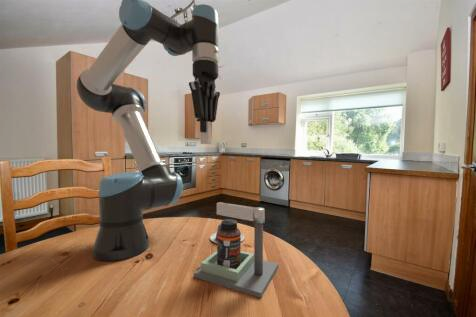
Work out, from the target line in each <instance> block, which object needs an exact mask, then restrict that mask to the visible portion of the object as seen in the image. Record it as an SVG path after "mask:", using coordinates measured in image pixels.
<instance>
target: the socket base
mask: <svg viewBox="0 0 476 317" xmlns="http://www.w3.org/2000/svg"><path fill="white" fill-rule="evenodd" d="M253 224H254V225H253V226H254V230H253V231H254V234H253V236H254V237H253V238H254V240H253V241H254V245H253V246H254V248H253V249H254V251H253V252H247V251H242V250H240V266H239V267H238V268H237V269H232V268H228V267H225V266H221V265H217V250H215V251H214V252H213V253H211V254H210V255H209V256H208V257H206V258H205V259H204V260H203V261H201V262H200V268H198V269H196V271H195V272H193V278H195V279H199V280H202V281H206V282H209V283H211V284H215V285H218V286H222V287H225V288H227V289H228V288H229V289H230V290H233V291H237V292H240V293H244V294H248V295H251V296H254V297H257V298H260V299H261V298H262V297H263V295H264V293H265V292H266V290H267V289H268V287H269V285H270V283H271V281H272V279H273V277H274V276H275V274H276V272H277V270H278V269H279V263H278V262H277V263H276V262H273V261H267V260H264V246H263V245H264V223H254V222H253Z"/></svg>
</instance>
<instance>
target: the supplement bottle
mask: <svg viewBox="0 0 476 317" xmlns="http://www.w3.org/2000/svg"><path fill="white" fill-rule="evenodd" d="M220 224H221V229H219V231H218V234H217V240H216V241H217V243H216V244H217V246H216V251H217V265H221V266H225V267H228V268H232V269H237V268H238V267H239V266H240V251H241V246H242V244H241V243H242V241H241V234H242V232H241V230H240V229H239V228H238V221H237V220H235V219H230V218H229V219H223V220H221V221H220Z"/></svg>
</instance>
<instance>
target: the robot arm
mask: <svg viewBox="0 0 476 317" xmlns="http://www.w3.org/2000/svg"><path fill="white" fill-rule="evenodd" d="M191 12H192V13H191V14H192V15H191V17H192V19H190V20H188V21H186V22H184V23H179V22H177V21H176V20H175V19H173V18H171V17H170V16H168V15H166V14H164V13H163V12H161V11H160V10H158V9H157V8H155V7H154V6H152V5H151V4H150V3H148V2H147V1H145V0H122V1H121V4H120V6H119V10H118V18H119V21H120V22H121V24H120V26H119V27H118V28H117V29H116V31H115V33H114V34H113V36H112V37H111V38H110V39H109V41H108V42H107V44H106V45H105V47H104V48H103V49H102V51H101V52H100V53H99V55H98V56H97V58H96V59H95V60H94V61H93V63H92V64H91V66H90V67H89V68H88V69H84V70H83V71H82V72H81V73H80V74H79V76H78V78H77V80H76V91H77V92H76V93H77V94H78V97H79V98H80V100H81V101H82V103H83V104H85V106H87V107H88V108H89V109H91V110H93V111H97V112H100V113H101V112H102V113H107V114H111V115H112V117H113V118H112V119H113V120H114V121H115V122H116V123H118V124H120V126H121V128H122V131H123V134H124V136H125V139H126V142H127V144H128V147H129V150H130V152H131V154H132V157H133V160H134V161H135V164H136V168H137V171H125V172H118V173H114V174H110V175H106V176H104V177H102V178H101V179H100V180H99V184H98V185H99V186H98V188H99V189H98V192H97V193H98V207H99V208H98V209H99V228H98V232H97V235H96V238H95V241H94V244H93V247H92V257H93V258H94V259H95V260H98V261H104V262H112V261H113V262H114V261H120V260H121V261H122V260H125V259H130V258H133V257H134V256H137V255H139V254H142V253H144V252H145V251H146V250H147V249H148V248H149V246H150V237H149V235H148V232H147V229H146V226H145V223H144V218H143V216H144V215H143V214H144V212H143V211H149V210H152V209H156V208H160V207H166V206H169V205H172V204H174V203H176V202H178V201H179V199H180V198H181V196H182V194H183V189H184V183H183V179H182V177H181V175H180V174H179V173H177V172H175V171H172V172H171V169H170V167H169V164H167V163H164V162H163V161H162V159H161V157H160V154H159V152H158V150H157V148H156V145H155V143H154V141H153V138H152V136H151V134H150V132H149V129H148V126H147V125H146V123H145V120H144V118H143V117H144V115H145V112H146V109H147V106H146V104H147V103H146V98H145V96H144V95H143V93H142V92H141V91H140V90H138V89H135V88H133V87H130V86H129V87H127V86H123V85H119V84H116V83H115V82H116V80H117V79H118V78H119V77H121V75H122V74H123V73H124V72H125V70H126V69H127V67H129V65H130V64H132V62H133V61H134V60H135V59H136V57H138V55H139V54H140V53H141V52H142V51H143V49H144V48H145V47H146V46H147V45H148V44H149V43H150V41H151V40H153V41H154V42H156V43H159V44H161V45H162V46H163V48H164V50H165V51H166V52H167V54H168V55H170V56H173V57H178V56H183V55H185V54H188V53H191V51H192V55H191V56H192V58H191V59H192V76H193V78H194V80H193V81H190V82H188V86H189V88H190V93H191V99H192V105H193V112H194V117H195V119H196V122H199V131H200V145H211V144H212V123H214V122H216V120H217V111H218V105H219V104H218V103H219V98H220V95H221V92H219V91H217V89H216V86H217V85H216V79H218V78H219V52H220V51H219V27H220V24H219V16H218V15H219V14H218V12H217V9H215V8H214V7H213V6H211V5H209V4H205V3H204V4H201V3H200V4H197V5H195V6H194V8H193V10H192V11H191Z"/></svg>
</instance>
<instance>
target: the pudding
mask: <svg viewBox="0 0 476 317" xmlns="http://www.w3.org/2000/svg"><path fill="white" fill-rule="evenodd" d="M219 229H221V223H220V224H219V225H218V226H217V230H216V232H214V233H212V234H211V235H210V237H209V240H210V241H211V242H213V243H215V244H217V234H218V231H219ZM244 240H245V235H244V234H243V233H241V242H242V241H244Z"/></svg>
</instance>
